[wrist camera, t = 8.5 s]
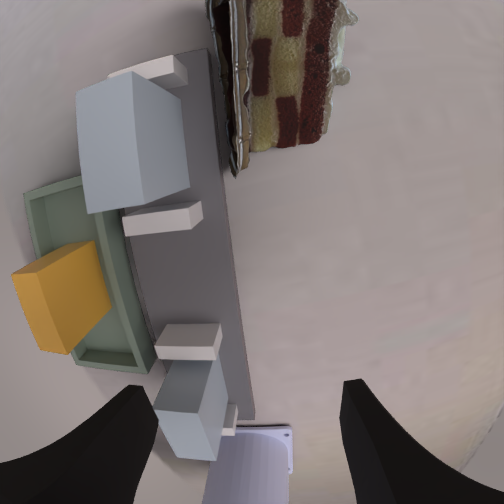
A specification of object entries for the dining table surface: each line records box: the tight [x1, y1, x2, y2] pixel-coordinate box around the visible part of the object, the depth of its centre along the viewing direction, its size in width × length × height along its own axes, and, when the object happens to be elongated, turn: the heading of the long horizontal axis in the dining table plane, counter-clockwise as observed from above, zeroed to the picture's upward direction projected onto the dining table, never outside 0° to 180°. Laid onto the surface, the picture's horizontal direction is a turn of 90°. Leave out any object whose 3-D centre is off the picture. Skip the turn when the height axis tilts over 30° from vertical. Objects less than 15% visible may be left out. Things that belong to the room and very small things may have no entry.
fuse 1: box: [76, 71, 190, 214], centre depth 12 cm, size 5×3×6 cm, turn 6°
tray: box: [23, 175, 157, 374], centre depth 18 cm, size 14×7×2 cm, turn 6°
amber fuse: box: [11, 240, 112, 355], centre depth 15 cm, size 5×3×6 cm, turn 6°
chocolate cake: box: [205, 0, 359, 179], centre depth 12 cm, size 10×7×12 cm
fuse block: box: [108, 48, 255, 436], centre depth 16 cm, size 26×6×4 cm, turn 6°
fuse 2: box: [153, 353, 228, 461], centre depth 16 cm, size 5×3×6 cm, turn 6°
